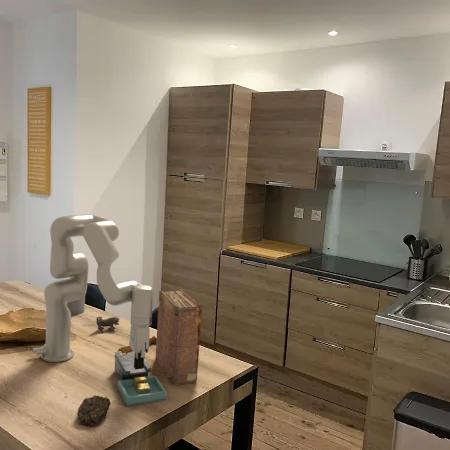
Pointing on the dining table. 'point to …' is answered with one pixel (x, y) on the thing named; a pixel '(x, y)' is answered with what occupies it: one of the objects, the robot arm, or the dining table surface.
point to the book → (178, 336)
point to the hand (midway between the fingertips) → (138, 368)
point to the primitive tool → (128, 349)
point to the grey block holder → (129, 367)
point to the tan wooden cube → (143, 388)
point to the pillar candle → (77, 306)
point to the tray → (133, 399)
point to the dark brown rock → (93, 410)
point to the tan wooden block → (139, 380)
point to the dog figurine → (107, 323)
